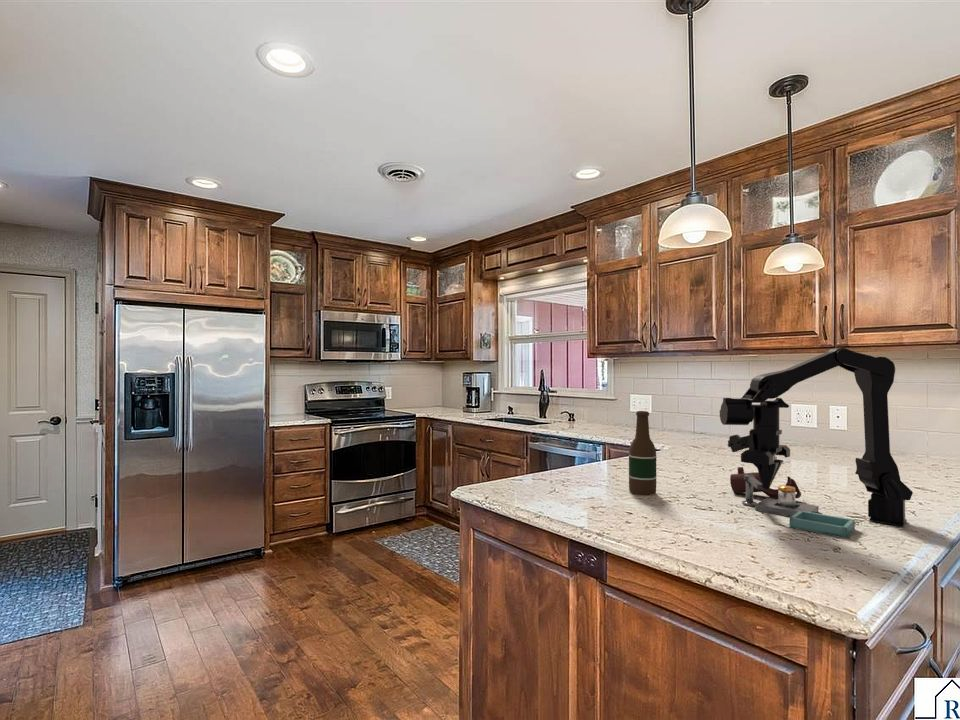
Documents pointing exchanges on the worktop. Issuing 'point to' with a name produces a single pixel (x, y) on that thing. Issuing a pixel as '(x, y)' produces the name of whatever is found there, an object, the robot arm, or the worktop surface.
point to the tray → (822, 524)
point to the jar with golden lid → (786, 496)
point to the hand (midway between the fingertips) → (766, 488)
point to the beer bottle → (642, 459)
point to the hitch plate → (775, 504)
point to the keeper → (753, 481)
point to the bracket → (740, 484)
